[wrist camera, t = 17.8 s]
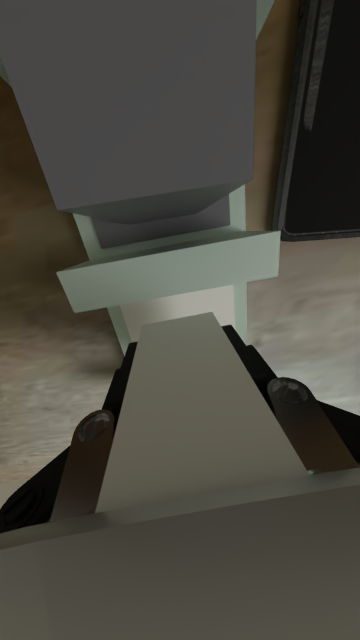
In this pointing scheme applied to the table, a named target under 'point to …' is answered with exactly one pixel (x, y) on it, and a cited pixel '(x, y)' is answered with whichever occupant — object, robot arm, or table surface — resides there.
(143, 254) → the rack
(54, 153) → the charcoal plug
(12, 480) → the table surface
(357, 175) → the phone
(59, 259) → the table surface
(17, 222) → the table surface
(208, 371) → the offwhite plug
